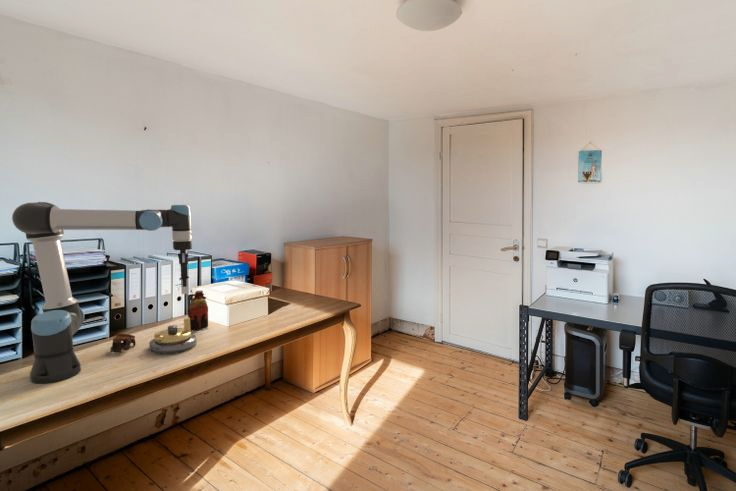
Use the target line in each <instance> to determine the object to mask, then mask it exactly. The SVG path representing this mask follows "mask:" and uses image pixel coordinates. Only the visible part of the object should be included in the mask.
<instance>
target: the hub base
mask: <svg viewBox="0 0 736 491" xmlns="http://www.w3.org/2000/svg"><path fill="white" fill-rule="evenodd" d="M178 328H179V327H178V325H175V324H173V325H169V326H167V329H168V334H176V333H178ZM196 345H197V336H196V334H195V333H191V339H189V340H188V341H186V342H183V343H179V344H174V345H158V344H156V343H155V342H154V338H152V339H151V340H150V341H149V351H150V352H151V353H152V354H155V355H174V354H175V355H176V354H178V353H179V354H180V353H182V352H186V351H189V350H191V349H193V348H195V347H196Z"/></svg>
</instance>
